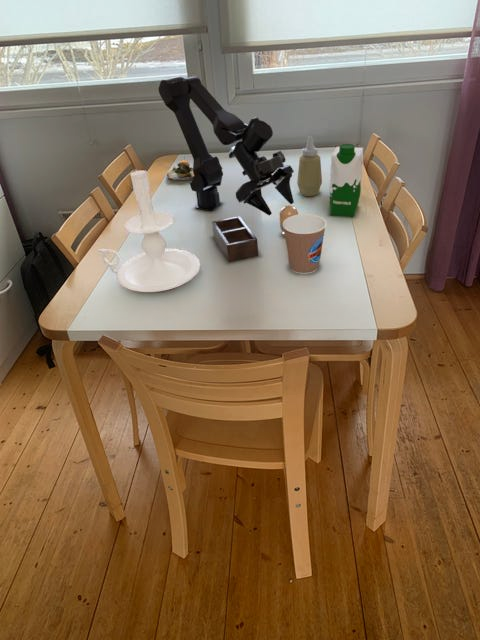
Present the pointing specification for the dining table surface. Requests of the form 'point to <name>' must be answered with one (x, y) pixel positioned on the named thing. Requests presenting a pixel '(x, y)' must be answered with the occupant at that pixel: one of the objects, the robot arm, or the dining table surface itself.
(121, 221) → the dining table surface
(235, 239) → the dark brown wooden tray
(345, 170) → the milk carton
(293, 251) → the coffee cup
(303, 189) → the squeeze bottle
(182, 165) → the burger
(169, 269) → the candlestick
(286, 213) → the egg
